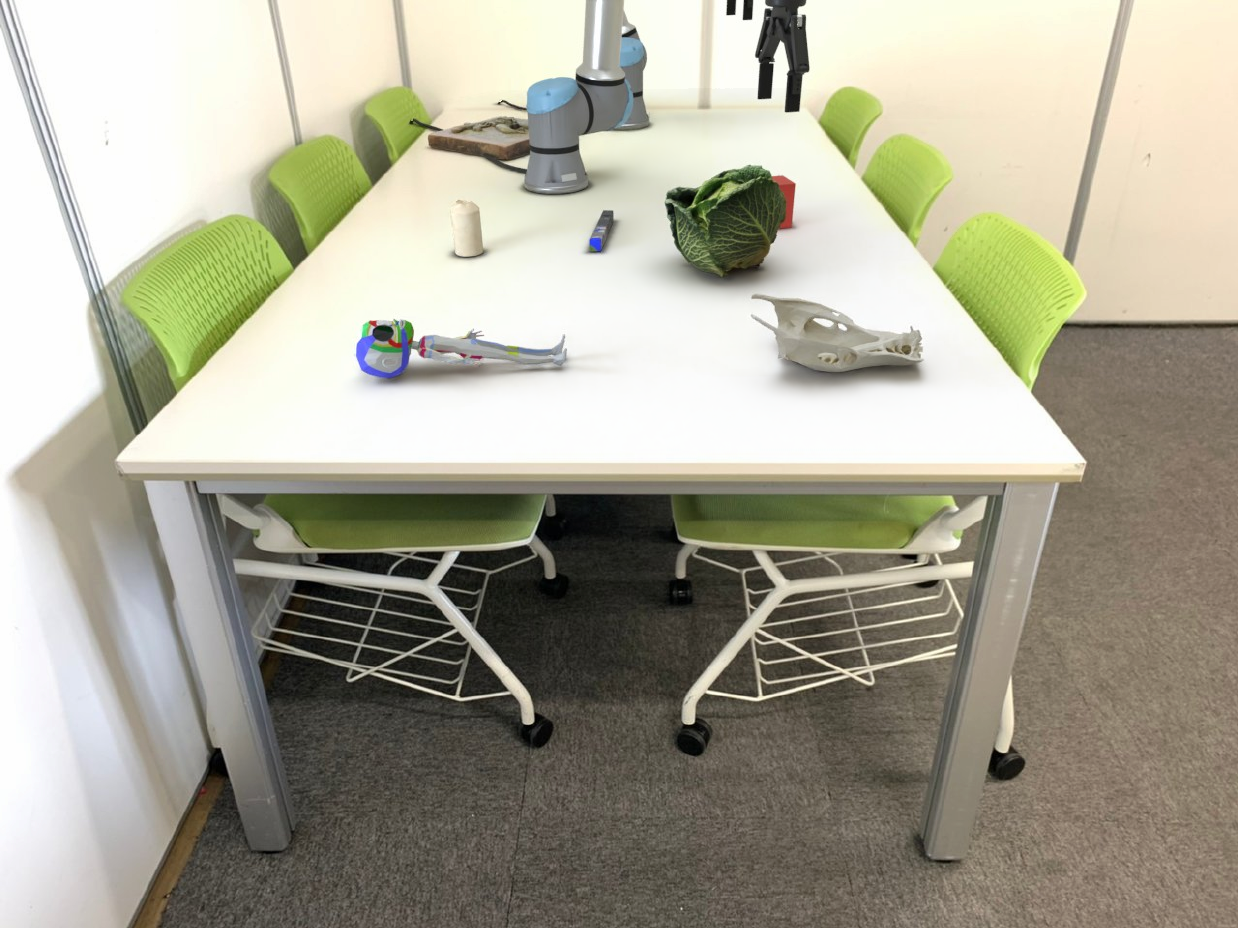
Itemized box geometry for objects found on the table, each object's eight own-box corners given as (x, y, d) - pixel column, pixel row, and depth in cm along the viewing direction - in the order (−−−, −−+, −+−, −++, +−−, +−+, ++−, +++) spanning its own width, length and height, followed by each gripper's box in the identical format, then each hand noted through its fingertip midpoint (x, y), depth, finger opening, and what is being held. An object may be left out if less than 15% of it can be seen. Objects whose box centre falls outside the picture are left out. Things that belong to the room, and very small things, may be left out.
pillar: (613, 210, 190) (600, 241, 173) (613, 220, 191) (600, 251, 174) (603, 210, 190) (589, 240, 173) (603, 220, 191) (589, 251, 174)
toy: (569, 347, 126) (349, 329, 122) (563, 400, 131) (350, 385, 126) (565, 318, 135) (359, 301, 130) (559, 369, 139) (360, 354, 134)
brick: (757, 231, 184) (760, 186, 179) (745, 221, 190) (748, 178, 185) (791, 227, 186) (795, 183, 181) (779, 218, 191) (783, 175, 186)
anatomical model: (752, 284, 135) (923, 286, 131) (750, 340, 140) (914, 344, 136) (749, 325, 123) (938, 328, 119) (747, 384, 127) (928, 390, 124)
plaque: (505, 133, 232) (424, 120, 247) (507, 161, 236) (427, 146, 250) (578, 114, 253) (499, 103, 268) (578, 140, 256) (500, 128, 271)
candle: (488, 249, 176) (483, 198, 171) (475, 258, 172) (470, 206, 167) (463, 246, 178) (457, 196, 173) (450, 255, 174) (443, 204, 168)
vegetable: (694, 294, 173) (643, 202, 166) (775, 239, 175) (728, 145, 167) (734, 307, 155) (678, 205, 147) (824, 245, 156) (773, 141, 149)
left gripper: (836, -14, 154) (823, 116, 165) (779, -24, 175) (770, 92, 186) (796, -12, 153) (785, 119, 164) (742, -22, 173) (736, 95, 184)
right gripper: (772, -65, 244) (767, 21, 256) (739, -67, 265) (735, 12, 276) (746, -64, 243) (742, 22, 254) (715, -67, 263) (712, 13, 275)
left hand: (777, 105), depth 175 cm, fingers open, 13 cm apart
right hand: (738, 17), depth 265 cm, fingers open, 13 cm apart
